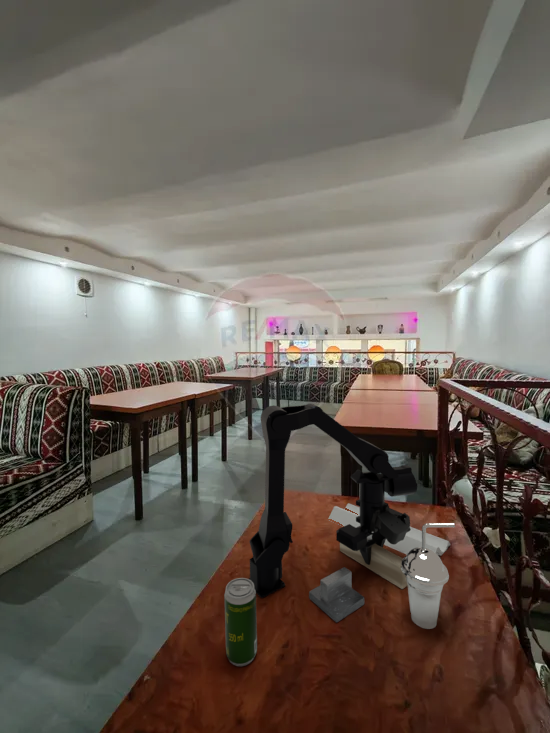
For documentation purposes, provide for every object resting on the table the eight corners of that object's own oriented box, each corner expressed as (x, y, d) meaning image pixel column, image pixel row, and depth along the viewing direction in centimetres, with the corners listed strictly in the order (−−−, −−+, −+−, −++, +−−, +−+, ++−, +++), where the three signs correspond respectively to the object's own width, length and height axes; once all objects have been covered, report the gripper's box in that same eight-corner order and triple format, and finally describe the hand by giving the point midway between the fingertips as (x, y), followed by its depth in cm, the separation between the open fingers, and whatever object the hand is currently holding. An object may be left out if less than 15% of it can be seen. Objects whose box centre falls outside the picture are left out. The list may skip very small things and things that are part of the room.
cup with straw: (412, 596, 73) (413, 504, 71) (458, 621, 66) (459, 519, 65) (392, 618, 67) (392, 518, 66) (439, 648, 60) (441, 537, 59)
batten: (402, 589, 75) (402, 567, 74) (339, 550, 89) (339, 532, 89) (409, 583, 76) (409, 562, 76) (347, 546, 91) (347, 528, 91)
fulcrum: (336, 622, 66) (336, 595, 66) (309, 598, 73) (308, 573, 72) (364, 604, 71) (364, 578, 70) (336, 582, 77) (336, 559, 77)
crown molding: (450, 548, 91) (450, 535, 90) (431, 569, 83) (431, 554, 82) (349, 508, 113) (349, 498, 113) (327, 522, 105) (327, 510, 105)
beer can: (256, 639, 63) (255, 575, 62) (258, 666, 57) (256, 597, 57) (226, 642, 62) (224, 578, 62) (225, 669, 57) (223, 600, 56)
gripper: (373, 524, 70) (373, 598, 71) (425, 499, 81) (425, 563, 82) (334, 504, 79) (334, 570, 80) (385, 484, 90) (385, 542, 91)
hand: (372, 561), depth 83 cm, fingers closed on batten, 3 cm apart
